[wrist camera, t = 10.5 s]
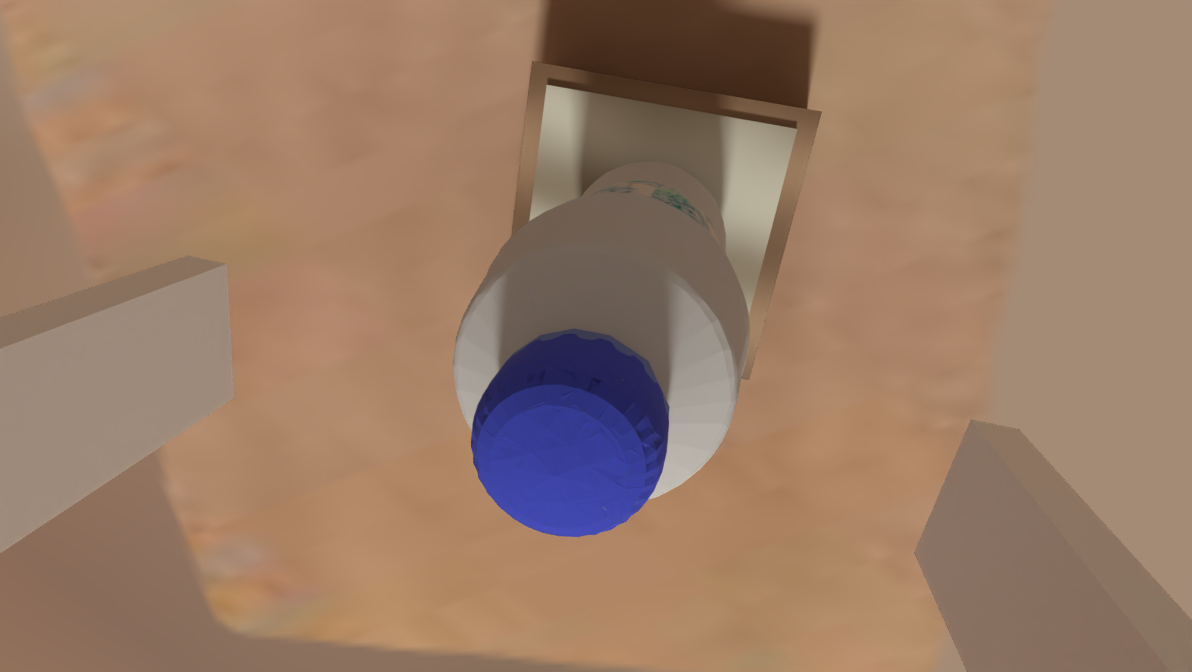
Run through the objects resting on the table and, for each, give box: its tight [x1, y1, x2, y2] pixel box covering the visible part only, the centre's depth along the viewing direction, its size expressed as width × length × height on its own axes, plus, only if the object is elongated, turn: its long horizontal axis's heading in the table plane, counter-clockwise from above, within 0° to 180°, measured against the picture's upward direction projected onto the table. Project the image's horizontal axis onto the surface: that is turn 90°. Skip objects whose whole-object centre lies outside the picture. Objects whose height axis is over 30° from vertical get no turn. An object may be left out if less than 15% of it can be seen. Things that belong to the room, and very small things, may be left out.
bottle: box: [453, 162, 750, 537], centre depth 20 cm, size 7×7×20 cm
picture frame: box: [511, 61, 822, 380], centre depth 31 cm, size 12×12×4 cm
